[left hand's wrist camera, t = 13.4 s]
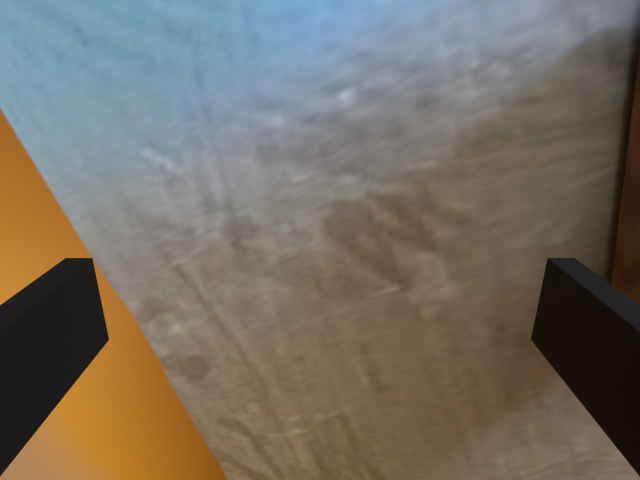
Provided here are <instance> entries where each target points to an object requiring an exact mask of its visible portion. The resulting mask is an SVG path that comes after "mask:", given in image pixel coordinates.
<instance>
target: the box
mask: <svg viewBox="0 0 640 480" xmlns="http://www.w3.org/2000/svg"><path fill="white" fill-rule="evenodd" d="M611 285H612V286H614V287H615V288H616V289H618V290H619V291H620V292H622V293H623V294H625V295H626V296H627V297H629V298H630V299H632V300H633V301H634V302H636V303H637V304H638V305H640V51H639V59H638V67H637V75H636V83H635V92H634V100H633V108H632V116H631V124H630V133H629V141H628V149H627V157H626V165H625V174H624V182H623V190H622V198H621V206H620V215H619V223H618V231H617V239H616V247H615V256H614V264H613V272H612V280H611Z"/></svg>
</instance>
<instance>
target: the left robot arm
mask: <svg viewBox="0 0 640 480" xmlns="http://www.w3.org/2000/svg"><path fill="white" fill-rule="evenodd" d="M108 340H109V337H108V332H107V328H106V323H105V318H104V313H103V308H102V303H101V299H100V294H99V289H98V284H97V279H96V274H95V269H94V264H93V260H92V258H65V259H64V260H62V261H61V262H60V263H58V264H57V265H56V266H54V267H53V268H51V269H50V270H49V271H47V272H46V273H44V274H43V275H42V276H40V277H39V278H38V279H36V280H35V281H33V282H32V283H31V284H29V285H28V286H27V287H25V288H24V289H22V290H21V291H20V292H18V293H17V294H15V295H14V296H13V297H11V298H10V299H8V300H7V301H6V302H4V303H3V304H2V305H0V476H1V475H2V473H3V472H4V471H5V470H6V468H7V467H8V466H9V465H10V463H11V462H12V461H13V460H14V458H15V457H16V456H17V455H18V453H19V452H20V451H21V450H22V448H23V447H24V446H25V444H26V443H27V442H28V441H29V440H30V438H31V437H32V436H33V434H34V433H35V432H36V431H37V429H38V428H39V427H40V426H41V424H42V423H43V422H44V421H45V419H46V418H47V417H48V416H49V414H50V413H51V412H52V411H53V409H54V408H55V407H56V405H57V404H58V403H59V402H60V401H61V399H62V398H63V397H64V395H65V394H66V393H67V392H68V390H69V389H70V388H71V387H72V385H73V384H74V383H75V382H76V380H77V379H78V378H79V377H80V375H81V374H82V373H83V372H84V370H85V369H86V368H87V367H88V365H89V364H90V363H91V362H92V360H93V359H94V358H95V357H96V355H97V354H98V353H99V352H100V350H101V349H102V348H103V346H104V345H105V344H106V343H107V341H108ZM531 340H532V341H533V343H534V344H535V345H536V347H537V348H538V349H539V350H540V352H541V353H542V354H543V355H544V357H545V358H546V359H547V360H548V362H549V363H550V364H551V365H552V367H553V368H554V369H555V370H556V372H557V373H558V374H559V375H560V377H561V378H562V379H563V380H564V382H565V383H566V384H567V385H568V387H569V388H570V389H571V391H572V392H573V393H574V394H575V396H576V397H577V398H578V399H579V401H580V402H581V403H582V404H583V406H584V407H585V408H586V409H587V411H588V412H589V413H590V414H591V416H592V417H593V418H594V419H595V421H596V422H597V423H598V424H599V426H600V427H601V428H602V429H603V431H604V432H605V433H606V434H607V436H608V437H609V438H610V440H611V441H612V442H613V443H614V445H615V446H616V447H617V448H618V450H619V451H620V452H621V453H622V455H623V456H624V457H625V458H626V460H627V461H628V462H629V463H630V465H631V466H632V467H633V468H634V470H635V471H636V472H637V473H638V475H639V476H640V305H638V304H637V303H636V302H634V301H633V300H632V299H630V298H629V297H627V296H626V295H625V294H623V293H622V292H620V291H619V290H618V289H616V288H615V287H614V286H612V285H611V284H609V283H608V282H607V281H605V280H604V279H602V278H601V277H600V276H598V275H597V274H596V273H594V272H593V271H591V270H590V269H589V268H587V267H586V266H584V265H583V264H582V263H580V262H579V261H578V260H576V259H575V258H548V260H547V264H546V269H545V274H544V279H543V284H542V289H541V294H540V298H539V303H538V308H537V313H536V318H535V323H534V328H533V332H532V337H531Z"/></svg>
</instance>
